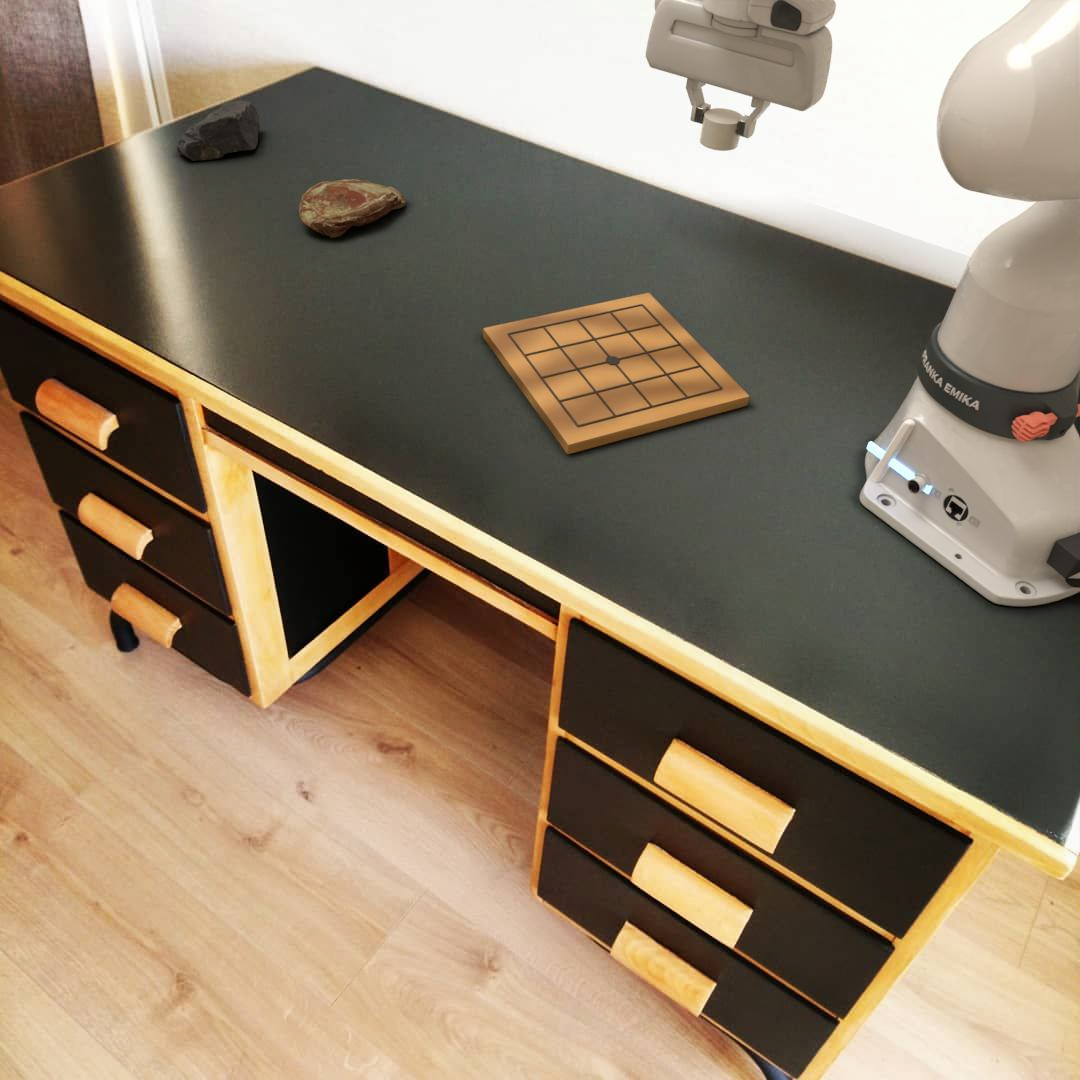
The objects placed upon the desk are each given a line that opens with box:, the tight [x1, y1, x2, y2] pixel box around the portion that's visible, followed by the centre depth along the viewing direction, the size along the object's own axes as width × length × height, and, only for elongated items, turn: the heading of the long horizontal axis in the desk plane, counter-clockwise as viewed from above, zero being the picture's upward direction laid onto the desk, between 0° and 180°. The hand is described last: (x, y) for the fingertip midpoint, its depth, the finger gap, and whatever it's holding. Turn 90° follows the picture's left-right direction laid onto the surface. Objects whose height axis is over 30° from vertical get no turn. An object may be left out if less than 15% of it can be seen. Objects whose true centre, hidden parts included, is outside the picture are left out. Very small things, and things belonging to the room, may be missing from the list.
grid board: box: [482, 292, 750, 455], centre depth 95 cm, size 20×20×1 cm
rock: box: [176, 100, 261, 162], centre depth 124 cm, size 10×6×10 cm
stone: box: [298, 178, 407, 239], centre depth 114 cm, size 13×10×3 cm
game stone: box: [699, 107, 744, 152], centre depth 106 cm, size 4×4×3 cm
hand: (721, 128), depth 106 cm, fingers closed on game stone, 4 cm apart
